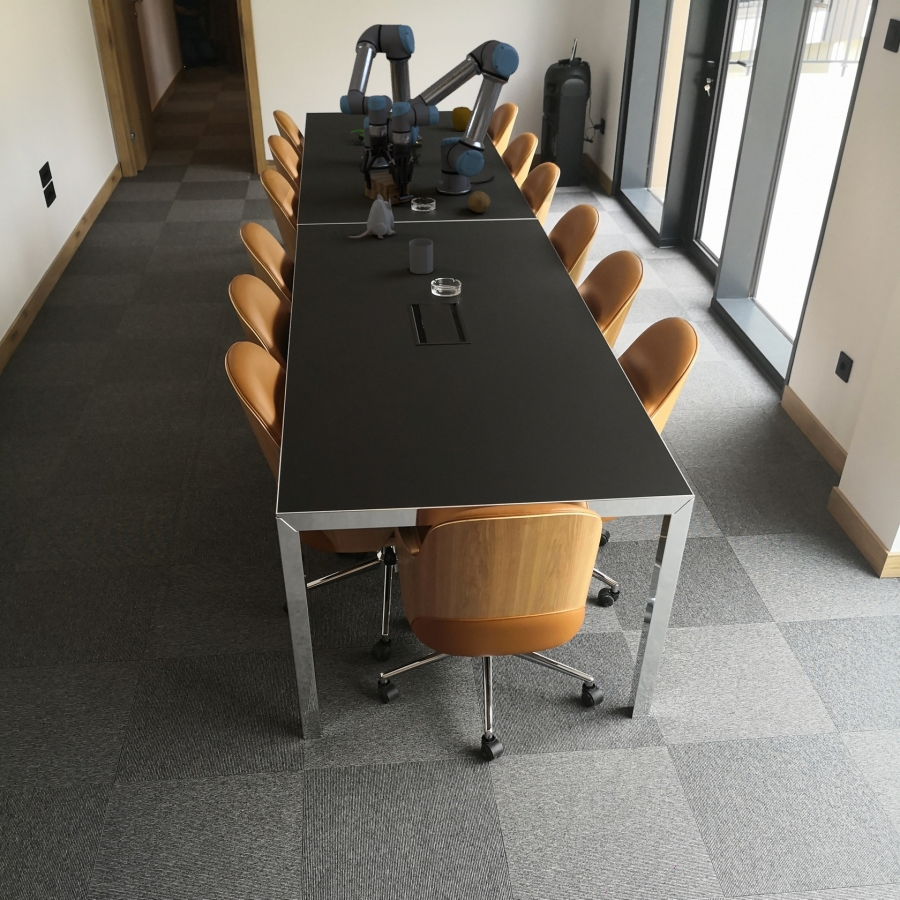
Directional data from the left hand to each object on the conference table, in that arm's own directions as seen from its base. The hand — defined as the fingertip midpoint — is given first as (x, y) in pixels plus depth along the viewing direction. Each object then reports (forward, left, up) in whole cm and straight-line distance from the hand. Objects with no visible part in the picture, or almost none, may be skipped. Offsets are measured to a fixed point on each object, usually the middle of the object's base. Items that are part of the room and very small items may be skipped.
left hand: (380, 186), depth 382 cm
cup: (+63, +68, -4) cm, 93 cm away
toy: (+47, +32, -4) cm, 57 cm away
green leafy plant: (-76, -63, -4) cm, 99 cm away
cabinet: (+2, +5, -4) cm, 6 cm away
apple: (-125, -41, -4) cm, 132 cm away
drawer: (+3, +10, -3) cm, 11 cm away
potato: (-5, +48, -4) cm, 49 cm away
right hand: (+6, +17, -1) cm, 18 cm away
